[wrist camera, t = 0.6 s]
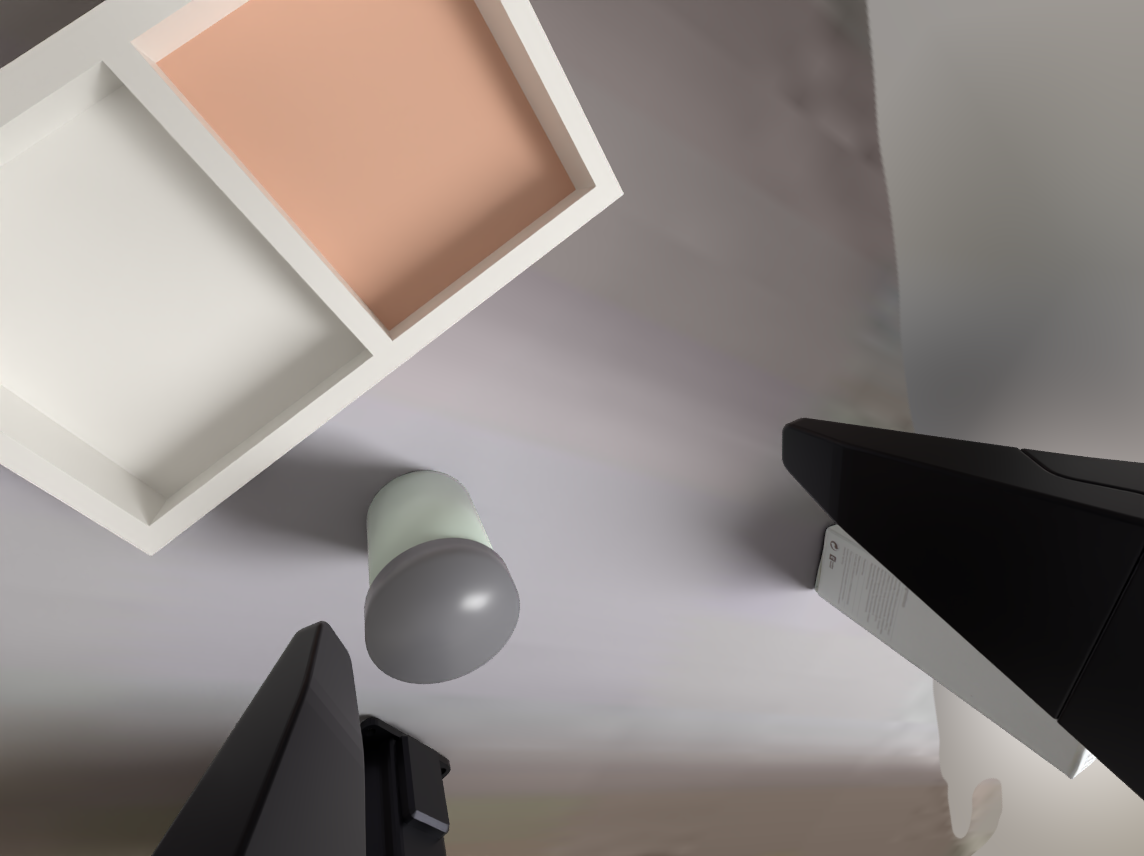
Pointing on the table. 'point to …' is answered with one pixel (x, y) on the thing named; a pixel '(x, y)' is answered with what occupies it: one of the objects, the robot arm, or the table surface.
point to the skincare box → (937, 648)
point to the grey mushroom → (433, 582)
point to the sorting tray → (258, 227)
